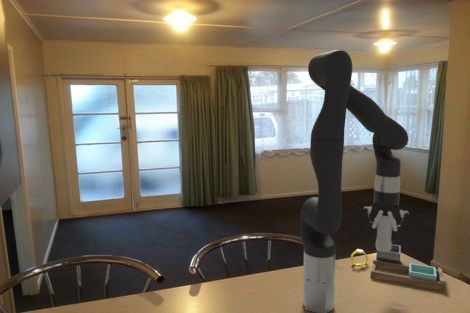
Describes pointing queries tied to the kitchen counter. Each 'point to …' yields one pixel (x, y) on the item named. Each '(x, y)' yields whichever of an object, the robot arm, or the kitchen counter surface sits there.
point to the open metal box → (390, 255)
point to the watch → (359, 253)
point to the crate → (422, 272)
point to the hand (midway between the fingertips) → (383, 239)
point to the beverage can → (384, 234)
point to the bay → (405, 279)
